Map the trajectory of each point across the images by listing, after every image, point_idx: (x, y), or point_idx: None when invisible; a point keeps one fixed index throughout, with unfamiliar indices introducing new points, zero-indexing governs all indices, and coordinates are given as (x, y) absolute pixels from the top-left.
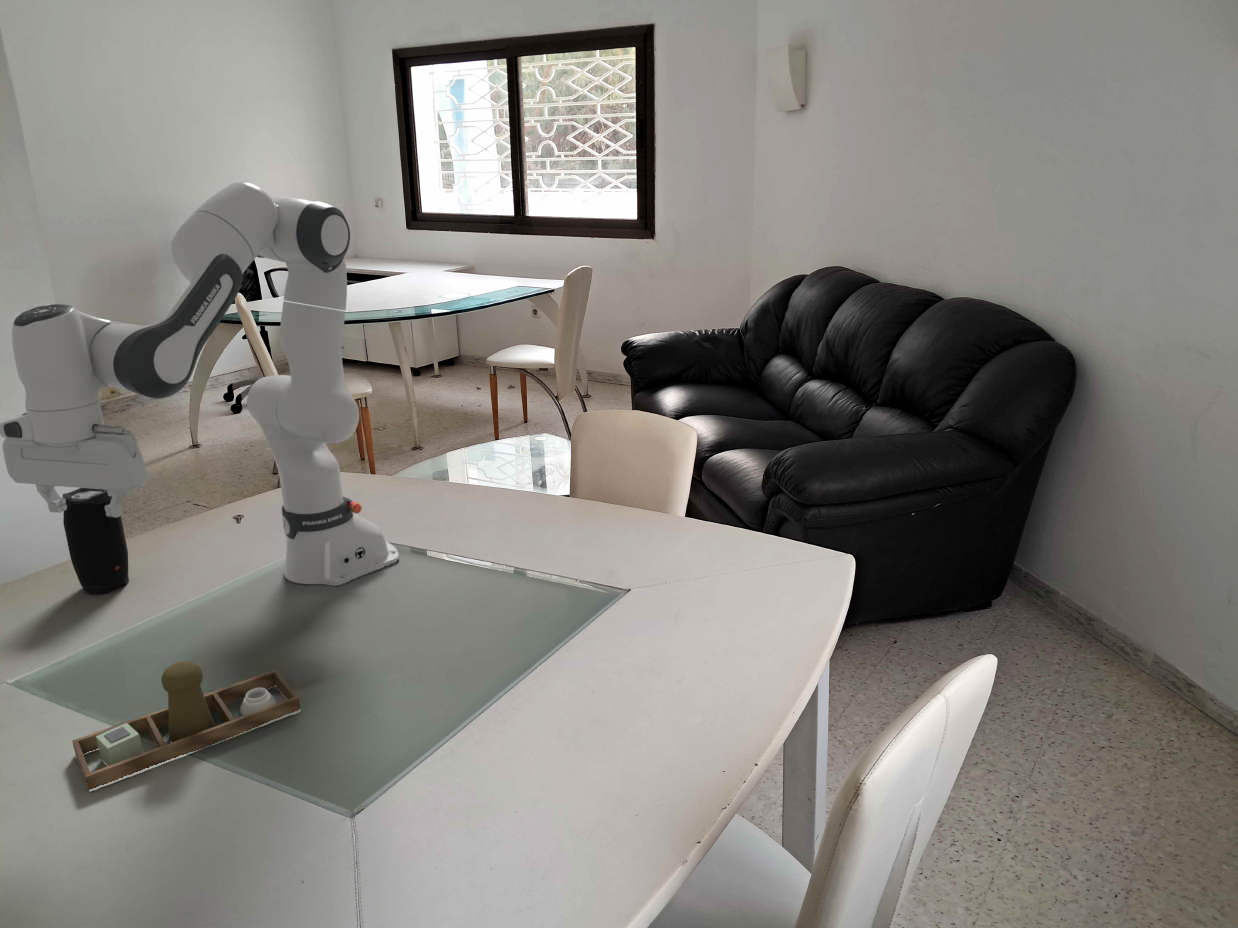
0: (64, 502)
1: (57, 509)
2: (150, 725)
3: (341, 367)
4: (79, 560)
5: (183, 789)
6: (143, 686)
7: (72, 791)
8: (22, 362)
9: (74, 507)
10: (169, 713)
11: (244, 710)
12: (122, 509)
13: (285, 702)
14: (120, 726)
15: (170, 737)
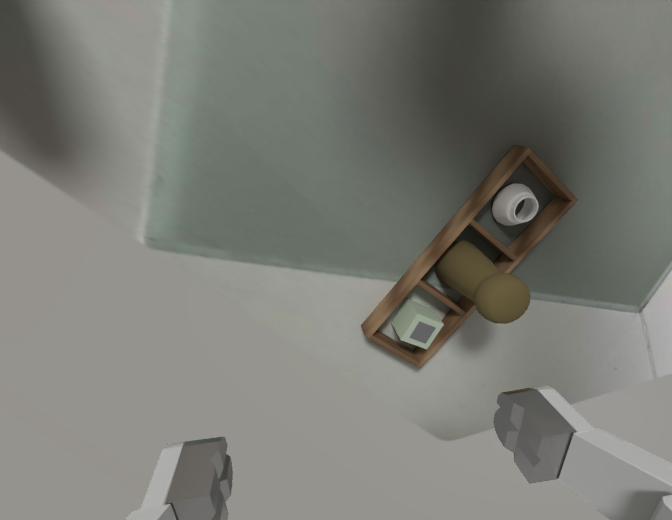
0: (216, 477)
1: (230, 494)
2: (431, 293)
3: None
4: None
5: (492, 328)
6: (337, 201)
7: (396, 359)
8: None
9: None
10: (462, 294)
11: (507, 224)
12: (561, 400)
13: (564, 213)
14: (415, 320)
15: (445, 283)
